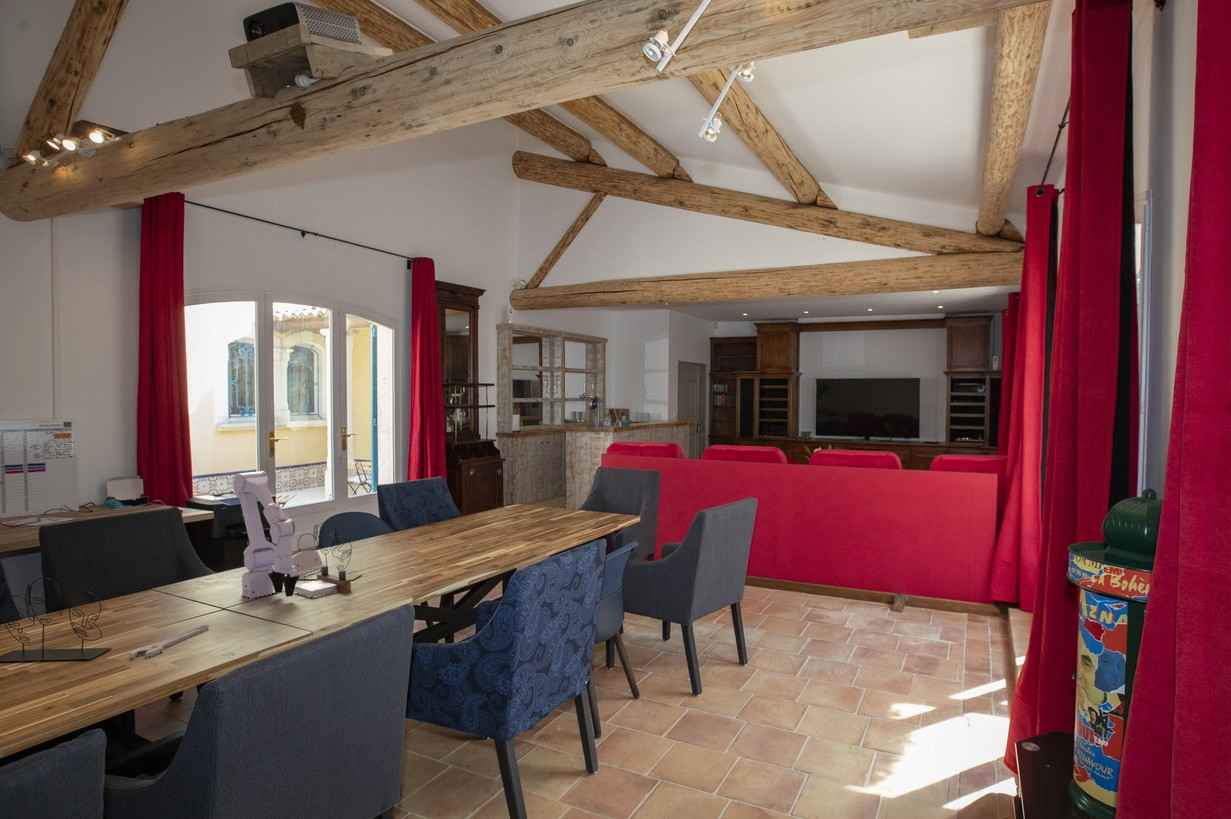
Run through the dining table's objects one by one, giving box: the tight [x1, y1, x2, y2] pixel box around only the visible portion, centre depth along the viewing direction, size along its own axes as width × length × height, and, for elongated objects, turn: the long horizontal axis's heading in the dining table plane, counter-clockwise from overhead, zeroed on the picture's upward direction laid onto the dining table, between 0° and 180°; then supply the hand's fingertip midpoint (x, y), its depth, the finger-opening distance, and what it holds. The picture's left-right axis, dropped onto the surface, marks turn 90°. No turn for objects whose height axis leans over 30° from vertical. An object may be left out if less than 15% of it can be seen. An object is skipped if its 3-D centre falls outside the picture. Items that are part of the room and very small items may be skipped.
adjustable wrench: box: [130, 624, 209, 659], centre depth 202 cm, size 25×6×2 cm, turn 164°
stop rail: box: [316, 565, 352, 593], centre depth 259 cm, size 3×18×7 cm, turn 52°
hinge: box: [292, 549, 327, 578], centre depth 282 cm, size 17×5×10 cm, turn 164°
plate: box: [294, 580, 339, 597], centre depth 254 cm, size 10×12×3 cm
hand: (284, 594), depth 245 cm, fingers open, 7 cm apart
